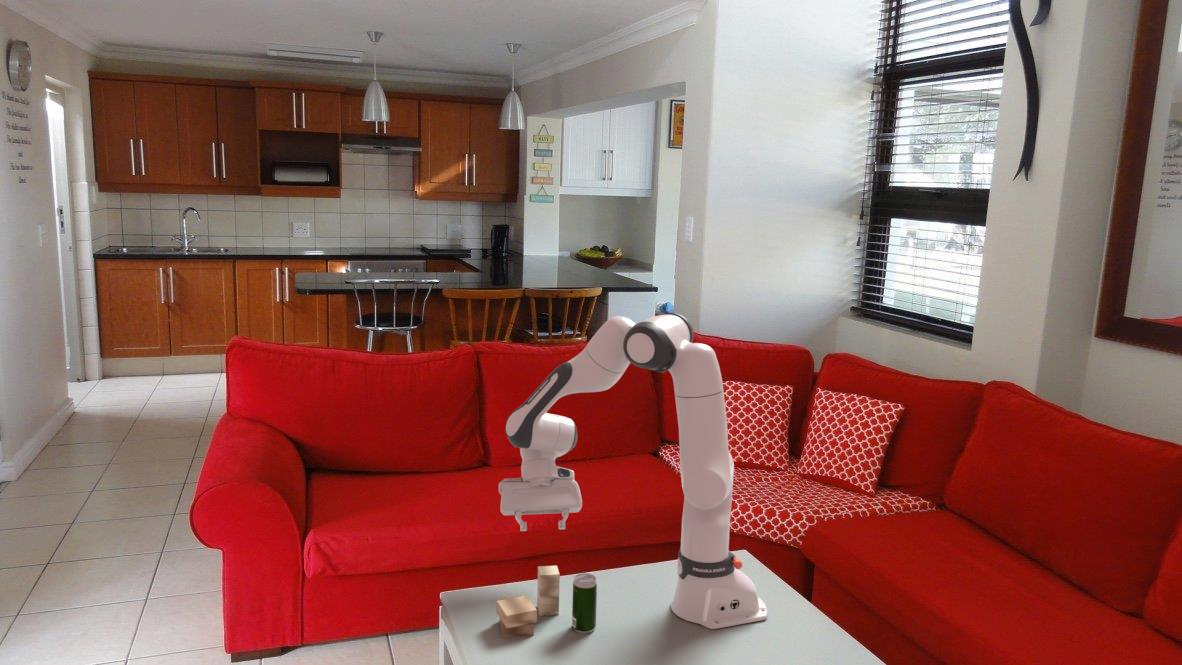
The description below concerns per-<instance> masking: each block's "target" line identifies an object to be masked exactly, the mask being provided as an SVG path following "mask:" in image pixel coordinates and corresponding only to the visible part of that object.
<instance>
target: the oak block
mask: <svg viewBox="0 0 1182 665" xmlns="http://www.w3.org/2000/svg"><path fill="white" fill-rule="evenodd" d="M496 614H497V616H498V618H499V620H500V619H501V621H502V622H503V624H504V625H505V627H506V628H511V627H516V626H521V625H527V624H532V623H534V624H536V623H537V622H538V608H536V606H535V605H534V604H533V603H532V601H531V600H530V598H529V597H528V596H527V595H521V596H515V597H510V598H505V599H500V600H496Z"/></svg>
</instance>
